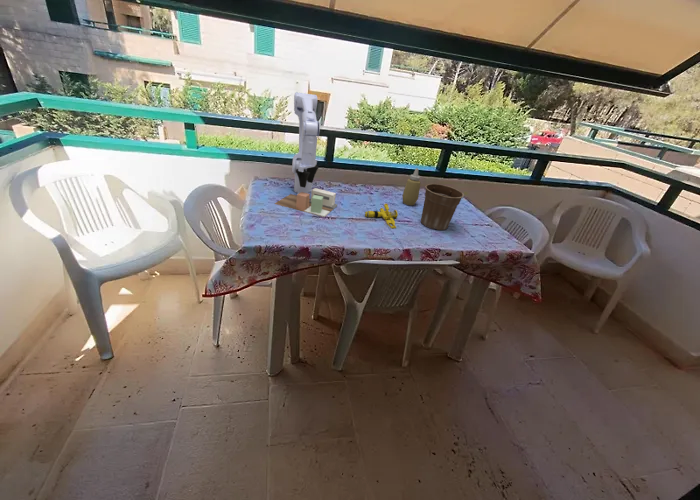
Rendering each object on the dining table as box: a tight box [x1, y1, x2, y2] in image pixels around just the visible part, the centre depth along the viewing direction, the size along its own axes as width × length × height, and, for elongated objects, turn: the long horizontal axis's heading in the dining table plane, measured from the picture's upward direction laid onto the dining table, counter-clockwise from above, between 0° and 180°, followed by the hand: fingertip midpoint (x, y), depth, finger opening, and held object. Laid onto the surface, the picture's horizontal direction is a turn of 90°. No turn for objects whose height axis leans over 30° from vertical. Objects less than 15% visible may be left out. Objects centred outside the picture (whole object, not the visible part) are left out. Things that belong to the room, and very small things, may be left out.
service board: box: [274, 193, 337, 218], centre depth 142 cm, size 15×23×1 cm, turn 71°
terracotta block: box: [296, 192, 311, 210], centre depth 137 cm, size 4×4×6 cm
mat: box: [304, 206, 331, 218], centre depth 136 cm, size 6×9×1 cm, turn 71°
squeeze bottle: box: [402, 167, 422, 206], centre depth 160 cm, size 8×8×18 cm
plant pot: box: [420, 183, 465, 231], centre depth 141 cm, size 16×16×16 cm
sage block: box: [311, 195, 323, 213], centre depth 134 cm, size 4×4×6 cm
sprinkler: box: [364, 203, 399, 229], centre depth 142 cm, size 19×4×15 cm
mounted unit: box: [309, 187, 338, 210], centre depth 143 cm, size 5×12×6 cm, turn 71°
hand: (306, 184), depth 139 cm, fingers open, 7 cm apart
